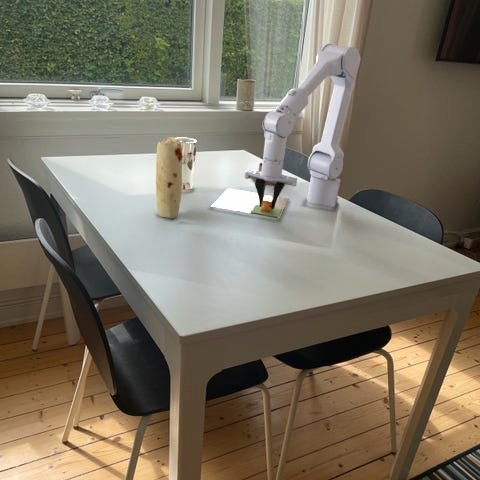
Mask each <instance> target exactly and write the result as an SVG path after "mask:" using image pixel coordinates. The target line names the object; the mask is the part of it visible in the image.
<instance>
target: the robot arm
mask: <svg viewBox="0 0 480 480" xmlns="http://www.w3.org/2000/svg"><path fill="white" fill-rule="evenodd" d="M361 60H362V58H361V55H360V52H359V50H358V48H357V47H355V46H344V45H337V44H332V43H325V44H324V45H323V46H322V47H321V49H320V51H319V52H318V53H317V54H316V61H315V63H314V65H313V66H312V67H311V69H310V70H309V72H308V73H307V75H306V76H305V78H304V79H303V80H302V82H301V83H300V85H299V86H298V87H293V88H291V89H289V90H288V91H287V94H286V95H285V97H284V98H283V99H282V100H281V102H280V103H279V104H278V105H277V107H276V108H275V109H274V110H273V109H272V110H270V111H269V112H267V113H266V114H265V116H264V119H263V120H262V121H261V125H262V130H263V132H264V134H263V137H264V146H263V153H262V154H263V155H262V162H261V163H262V170H261V171H259V170H249V169H246V170H245V172H244V179H246V180H249V179H250V180H253V179H255V180H256V181H254V187H255V189H256V193H258V197H259V207H261V205H262V200H263V198H264V195H265V190H266V181H267V182H274V183H276V184H275V185H273V194H272V196H273V201H272V206H271V209H274V207H275V204H276V201H277V198H278V197H280V195H281V192H282V191H283V189H284V187H285V185H287V186H291V187H296V186H297V184H298V177H293V176H289V175H285V174H283V168H284V161H285V154H286V147H287V140H288V136H289V135H290V134H292V132H293V130H294V127H295V124H296V122H297V118H298V117H299V116H300V114H301V113H302V112H303V111H304V110H305V108H306V107H307V106H308V104H309V97H310V95H312V94H313V92H314V91H315V90H316V89H317V88H319V86H320V85H321V84H322V83H323V82H324V80H326V78H328V77H329V78H331V81H332V82H333V89H332V93H331V98H330V102H329V104H328V105H329V106H328V110H327V114H326V119H325V123H324V126H323V131H322V135H321V139H320V142H318V143H317V144H315V145H314V146H313V147H312V151H311V153H310V155H309V157H308V159H307V169H308V171H309V175H310V180H309V186H308V192H307V196H306V201H307V203H310V204H312V205H315V206H321V207H322V206H323V207H330V208H336V205H337V204H338V201H339V197H338V196H339V190H340V187H341V186H340V185H341V182H342V180H341V179H340V178H338V177H339V176H340V175H341V174H342V172H343V168H344V157H345V153H344V151H343V150H342V148H341V147H340V143H341V142H340V141H341V138H342V134H343V129H344V126H345V122H346V118H347V114H348V111H349V106H350V103H351V98H352V96H353V95H352V94H353V92H354V87H355V83H356V79H357V75H358V72H359V68H360V64H361Z"/></svg>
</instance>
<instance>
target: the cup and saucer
mask: <svg viewBox="0 0 480 480" xmlns="http://www.w3.org/2000/svg"><path fill="white" fill-rule="evenodd" d="M261 170H262V162H260V163H259V164H258V171H261ZM252 181H254V182H255V181H256V180H255V179H252ZM275 184H276V183H274V182H267V181H266V185H267V186H274V185H275ZM266 185H265V186H266Z"/></svg>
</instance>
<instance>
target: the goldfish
mask: <svg viewBox="0 0 480 480" xmlns="http://www.w3.org/2000/svg"><path fill="white" fill-rule="evenodd" d="M268 195H269V194H268ZM270 196H271V195H269V196H268V197H264V198H263V200H262V205H261V211H265V212H271V211H272V209H271V206H272V201H273V198H271V197H270Z"/></svg>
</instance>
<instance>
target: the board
mask: <svg viewBox="0 0 480 480" xmlns="http://www.w3.org/2000/svg"><path fill="white" fill-rule="evenodd" d="M268 196H269V194H264V197H268ZM270 197H271V198H273V195H270ZM289 200H290V198H288V197H282V196H278V198H277V201H276V204H275V207H277V208H282V210H281V212H280V214H279V216H278V217H273V216H267V215H261V214H255V213H250V212H251V210H252V209H253V207H254V206H255V204H259V197H258V192H252V191H246V190H240V189H234V188H227V189H226V190H225V191H224V192H223V193H222V194H221V195H220V196H219V197H218V198H217V199H216V201H214V203H212V205H210V207H211V208H218V209H223V210H229V211H235V212H240V213H246V214H251V215H258V216H263V217H269V218H275V219H280V218H281V216H282V214H283V212H284V210H285V208H286V206H287V204H288V202H289Z"/></svg>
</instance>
